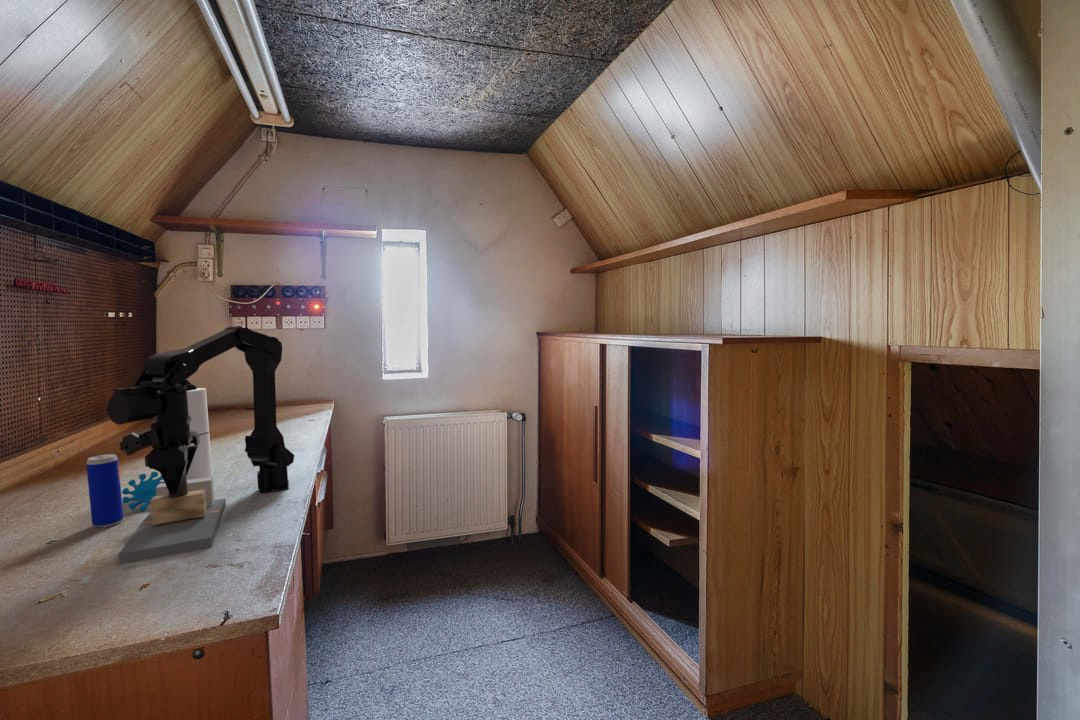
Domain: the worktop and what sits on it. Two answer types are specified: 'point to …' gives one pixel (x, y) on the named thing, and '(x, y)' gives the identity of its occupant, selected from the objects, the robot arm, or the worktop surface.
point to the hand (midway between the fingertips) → (177, 487)
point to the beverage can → (104, 490)
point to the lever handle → (178, 505)
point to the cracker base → (176, 529)
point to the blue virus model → (142, 491)
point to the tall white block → (200, 425)
